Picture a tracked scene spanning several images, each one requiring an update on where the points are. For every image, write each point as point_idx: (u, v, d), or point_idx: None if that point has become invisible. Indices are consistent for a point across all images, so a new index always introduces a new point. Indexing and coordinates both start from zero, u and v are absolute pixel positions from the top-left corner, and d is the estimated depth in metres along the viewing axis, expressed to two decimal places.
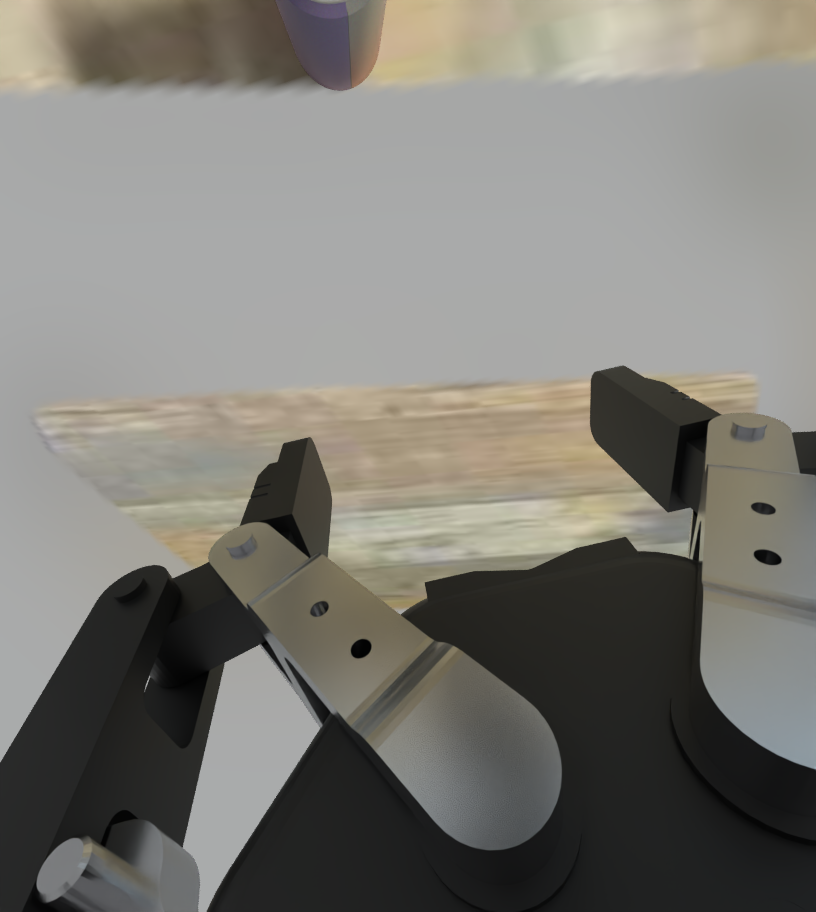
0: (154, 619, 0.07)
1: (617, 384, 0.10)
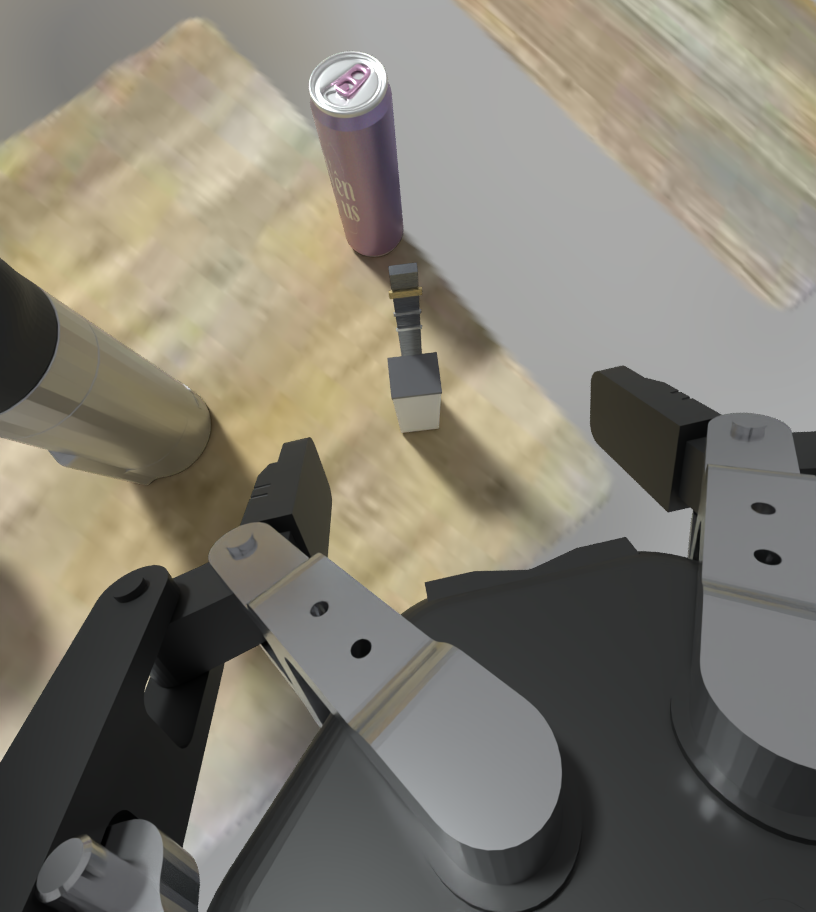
0: (154, 619, 0.07)
1: (617, 384, 0.10)
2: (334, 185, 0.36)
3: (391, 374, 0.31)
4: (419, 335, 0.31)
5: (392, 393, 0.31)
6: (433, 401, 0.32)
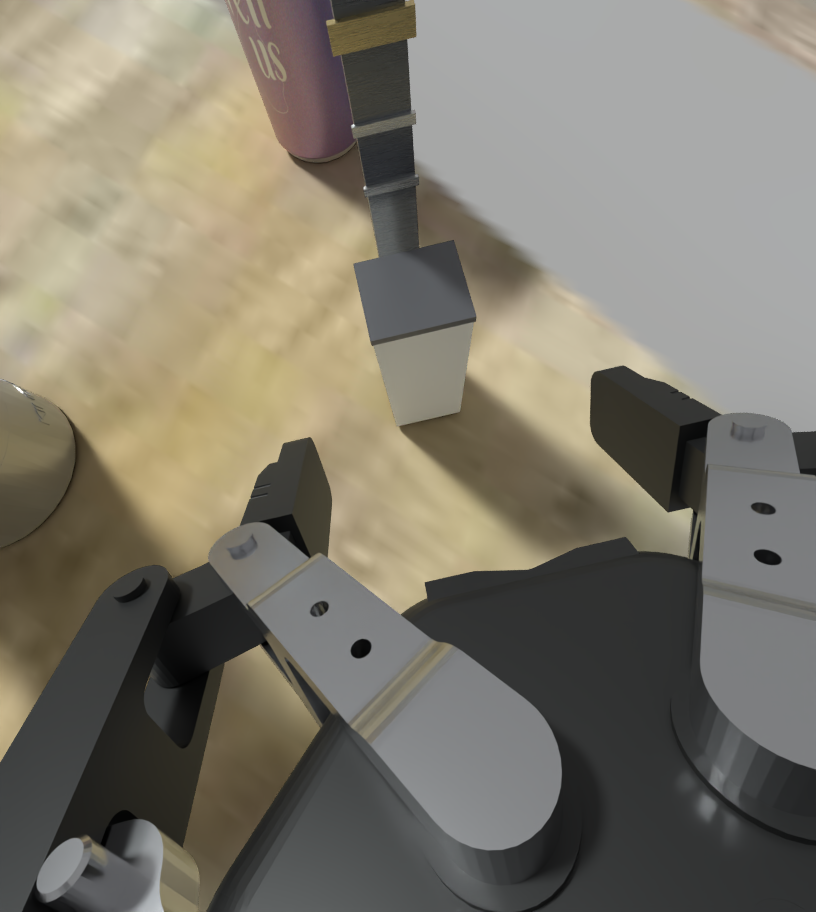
0: (154, 619, 0.07)
1: (617, 384, 0.10)
2: (231, 3, 0.21)
3: (365, 294, 0.15)
4: (414, 210, 0.15)
5: (371, 331, 0.14)
6: (456, 347, 0.16)
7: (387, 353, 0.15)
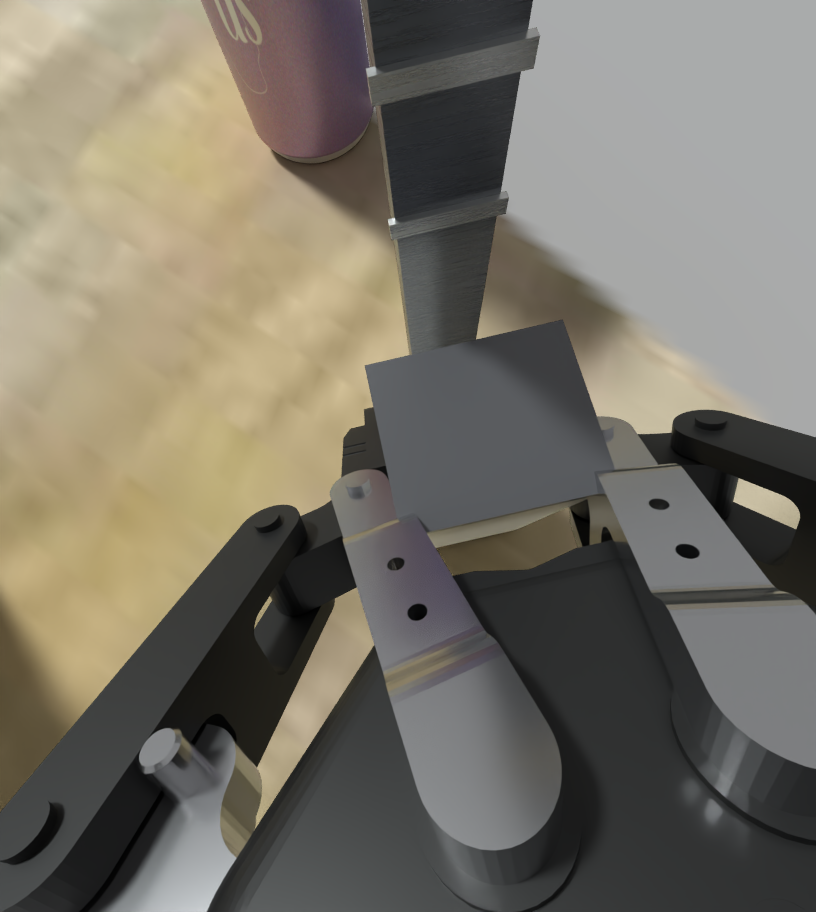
0: (278, 557, 0.08)
1: None
2: None
3: (388, 431, 0.07)
4: (483, 260, 0.08)
5: None
6: (554, 508, 0.09)
7: (429, 533, 0.08)
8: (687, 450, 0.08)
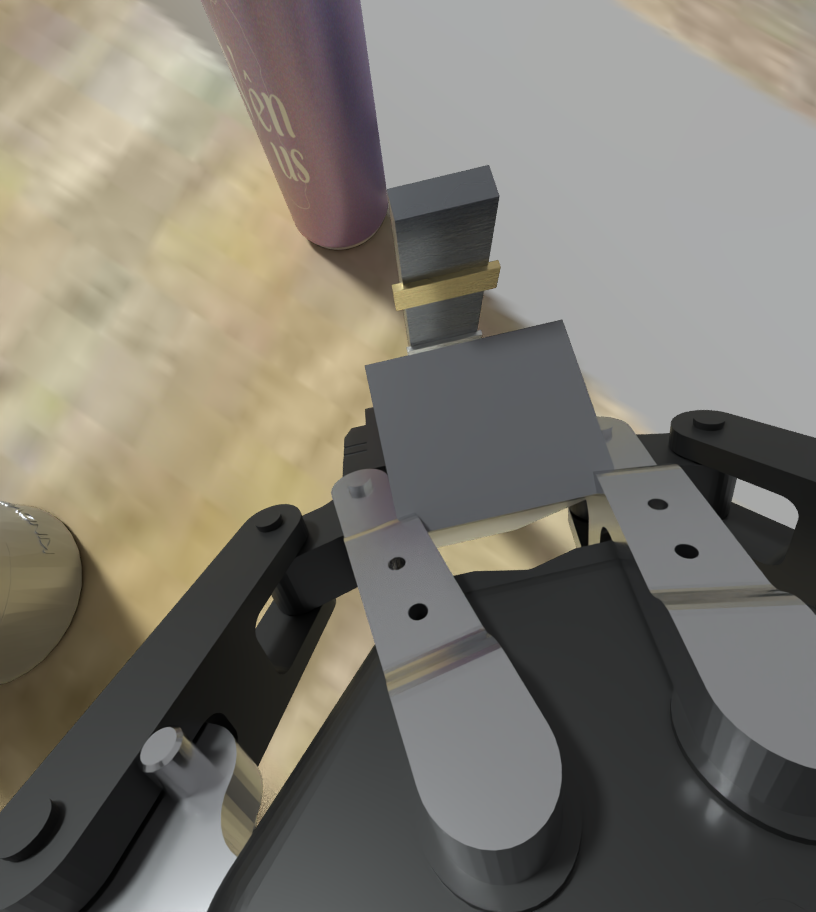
0: (279, 557, 0.08)
1: None
2: (252, 111, 0.19)
3: (388, 431, 0.07)
4: None
5: None
6: (553, 507, 0.09)
7: (429, 533, 0.08)
8: (685, 450, 0.08)
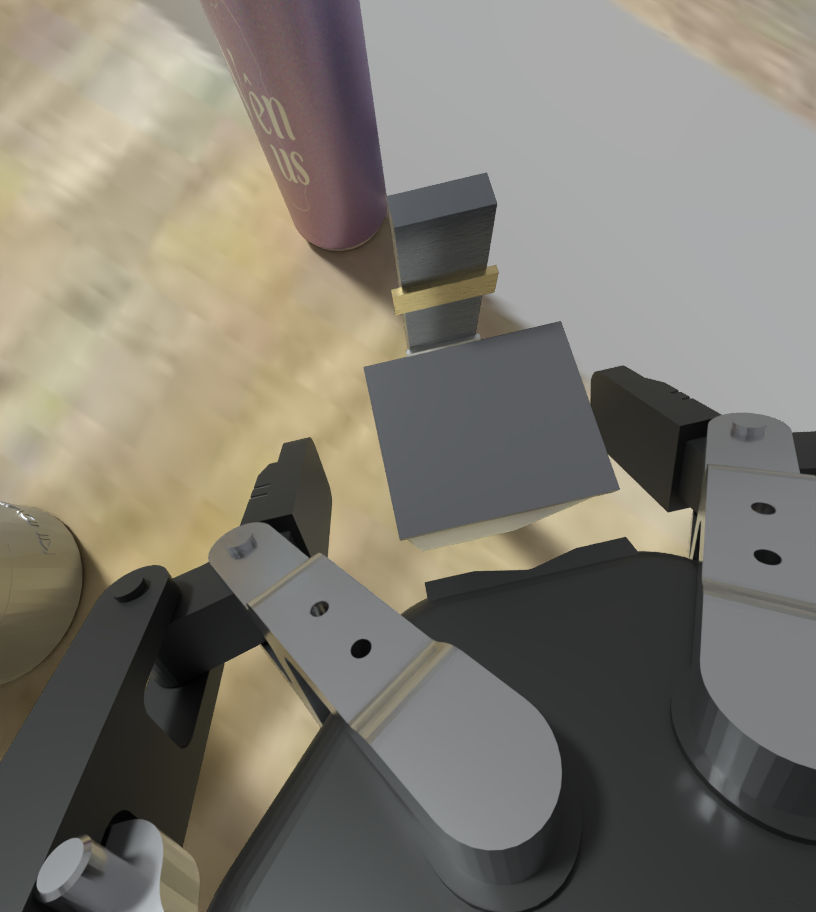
0: (154, 620, 0.07)
1: (617, 384, 0.10)
2: (252, 114, 0.19)
3: (387, 433, 0.07)
4: None
5: (401, 517, 0.07)
6: (552, 509, 0.09)
7: (428, 534, 0.08)
8: None
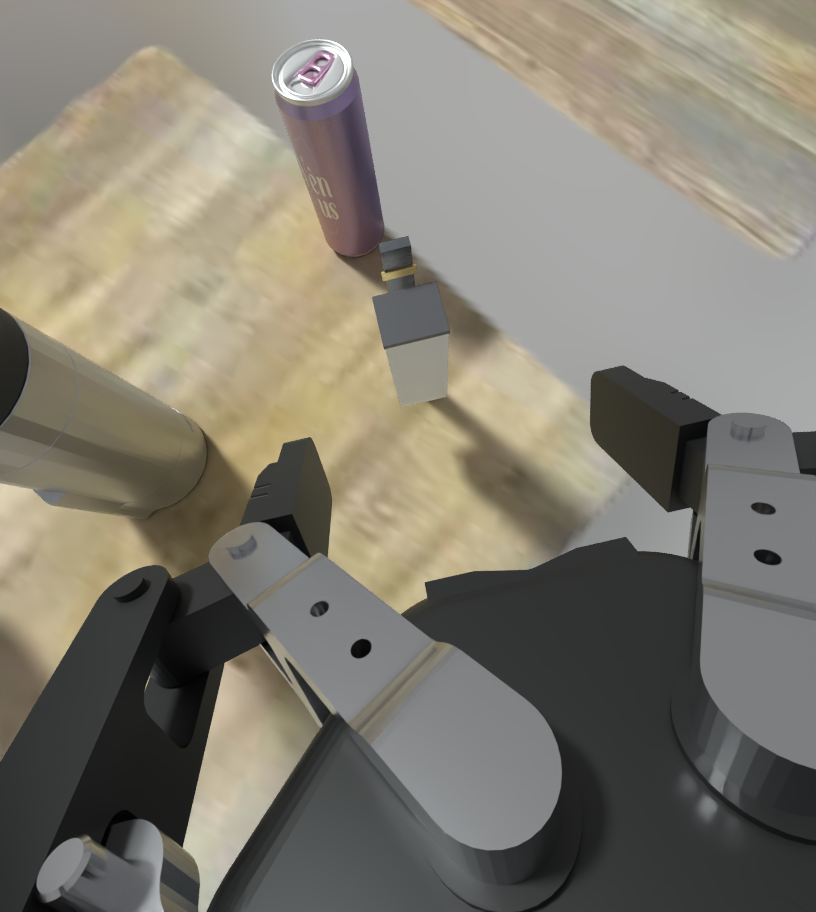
0: (155, 619, 0.07)
1: (617, 384, 0.10)
2: (309, 183, 0.35)
3: (379, 316, 0.23)
4: None
5: (384, 340, 0.23)
6: (439, 349, 0.24)
7: (394, 354, 0.24)
8: None
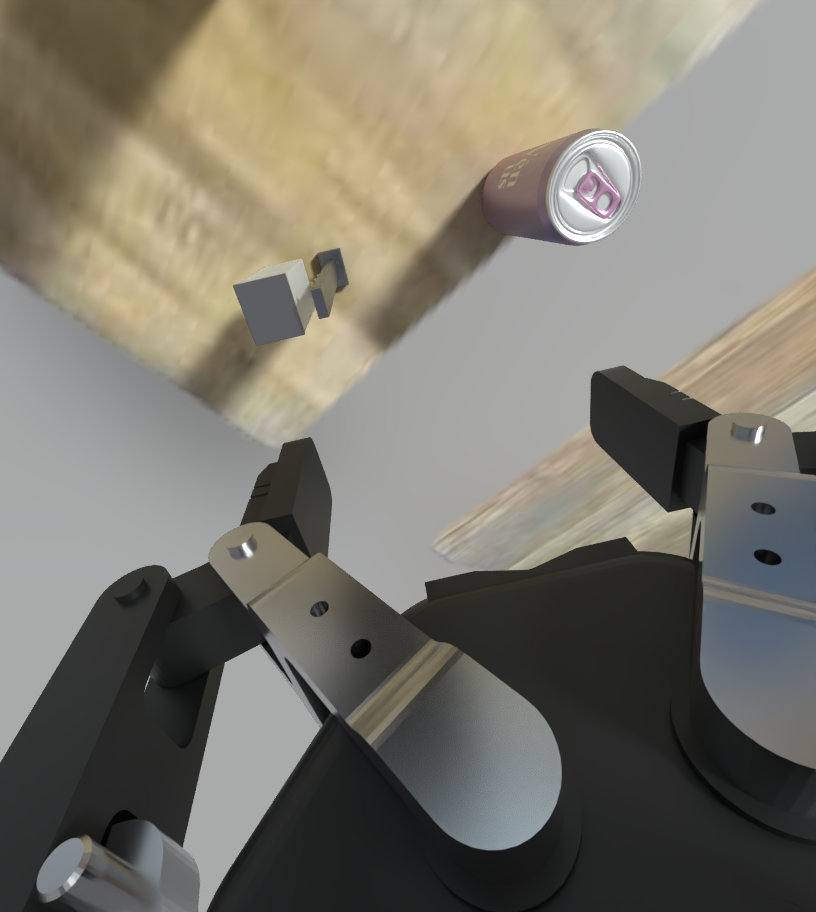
0: (154, 620, 0.07)
1: (617, 384, 0.10)
2: (526, 155, 0.29)
3: (263, 281, 0.25)
4: None
5: (238, 286, 0.25)
6: None
7: None
8: None
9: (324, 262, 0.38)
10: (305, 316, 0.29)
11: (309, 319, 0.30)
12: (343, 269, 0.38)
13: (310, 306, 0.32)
